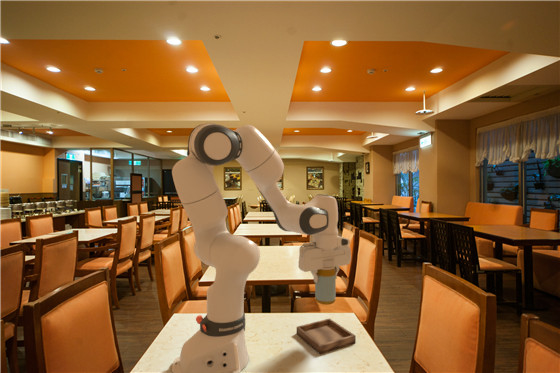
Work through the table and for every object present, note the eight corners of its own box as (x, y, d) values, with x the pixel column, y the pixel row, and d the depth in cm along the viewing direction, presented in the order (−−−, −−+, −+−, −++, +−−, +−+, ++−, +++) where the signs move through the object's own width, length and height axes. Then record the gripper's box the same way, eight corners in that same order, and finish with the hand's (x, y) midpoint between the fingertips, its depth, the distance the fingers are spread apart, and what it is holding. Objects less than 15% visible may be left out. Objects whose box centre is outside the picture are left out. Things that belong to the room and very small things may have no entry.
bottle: (334, 297, 108) (334, 256, 108) (336, 305, 101) (336, 261, 101) (314, 297, 109) (314, 255, 109) (315, 305, 102) (315, 261, 102)
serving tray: (320, 354, 95) (320, 346, 95) (296, 333, 108) (296, 326, 108) (355, 342, 102) (355, 335, 102) (329, 324, 115) (329, 318, 115)
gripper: (304, 245, 97) (304, 288, 97) (353, 239, 106) (353, 278, 107) (294, 242, 103) (295, 282, 103) (342, 236, 112) (342, 273, 112)
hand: (325, 280), depth 105 cm, fingers closed on bottle, 6 cm apart
